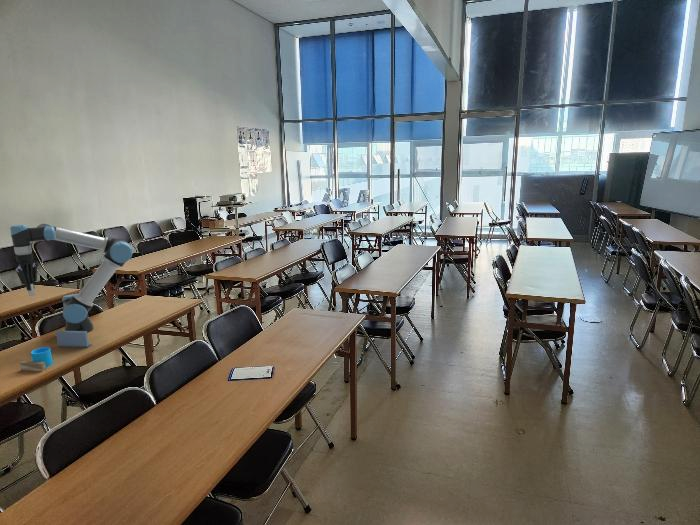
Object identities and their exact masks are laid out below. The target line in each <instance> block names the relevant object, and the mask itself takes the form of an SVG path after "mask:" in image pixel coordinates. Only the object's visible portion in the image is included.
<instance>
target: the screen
mask: <svg viewBox="0 0 700 525" xmlns="http://www.w3.org/2000/svg"><path fill="white" fill-rule="evenodd" d="M55 336H56V341H57V346H58V348H59V347H60V348H81V349H83V348H85V349H87V348H89V347H91V346H93V343H90V340H89V337H88V336H89V335H88V332H87V331H65V330H56V331H55Z"/></svg>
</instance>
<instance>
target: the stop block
mask: <svg viewBox="0 0 700 525" xmlns="http://www.w3.org/2000/svg"><path fill="white" fill-rule="evenodd" d="M19 365H20V370H21V371H30V372H44V371H45V370H47V367H46V366H45V362H33V361H32V360H31V361H30V360H29V361H27V360H25V361H21V362H19Z"/></svg>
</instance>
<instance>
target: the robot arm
mask: <svg viewBox="0 0 700 525" xmlns="http://www.w3.org/2000/svg"><path fill="white" fill-rule="evenodd" d="M9 229H10V237H11V239H12V245H13V250H14V254H15V259H16V262H17V268H14V272H16V273H17V277H18V278H19V281H20V282H21V285H25V288H26V291H27V294H28V296H29V297H35V296H36V292H35V291H36V290H35V284H36V283H37V281H38V266H39V265H38V263H35V262H34V255H33V253H32V252H33V251H32V244H31V243H32V242H43V241H44V242H45V241H57V242H63V243H69V244H71V245H78V246H81V247H86V248H90V249H94V250H95V249H96V250H100V251H101V252H103V253H104V255H103V261H102V262H101V264H99V266H98V268H97V269H96V270H95V271H94V273H93V274H92V275H91V276H90V278H88V280H87V282H86V283H85V284H84V286H83V287H82V288H81V290H80V291H79V293H72V294H68V295H63V296H62V301H61V302H62V304H63V309H62V316H63V319H64V320H65V327H64V331H87V333H89V332H91V331H93V330H94V328H95V327H94V324H93V322H92V321H91V319H90V317H89V311H91V309H92V308H93V306H94V303H93V302H94V300H95V299H96V298H97V297H98V295H99V294H100V293H101V291H102V290H103V288H104V287H105V286H106V284H107V283H108V282H109V280H110V279H111V278H112V277H113V276H114V274H115V273H116V271H117V270H118V269H120V268H123V267H124V265H125V264H126V263H127V262H128V261H130V260H131V258H132V256H133V247H132V246H131V245H130V243H129V242H128V241H127V240H125V239H121V238H116V237H109V236H106V237H103V236H102V237H101V236H97V235H93V234H89V233H84V232H80V231H75V230H72V229H67V228H63V227H58V226H54V225H53V226H52V225H50V224H47V223H41V224H39V225H37V227H29V226H28V225H27V224H15V225H11V226H10V228H9Z"/></svg>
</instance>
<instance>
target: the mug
mask: <svg viewBox="0 0 700 525" xmlns="http://www.w3.org/2000/svg"><path fill="white" fill-rule="evenodd" d="M30 355H31V356H30V357H31V361H33V362H45V366H46V368H48V366H49V367H51V366H52V365H54V362H53V357H52V356H53V355H52V351H51V348H50V347H48V346H43V347H38V348H36V349H33V350H32V351H31V352H30Z"/></svg>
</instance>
